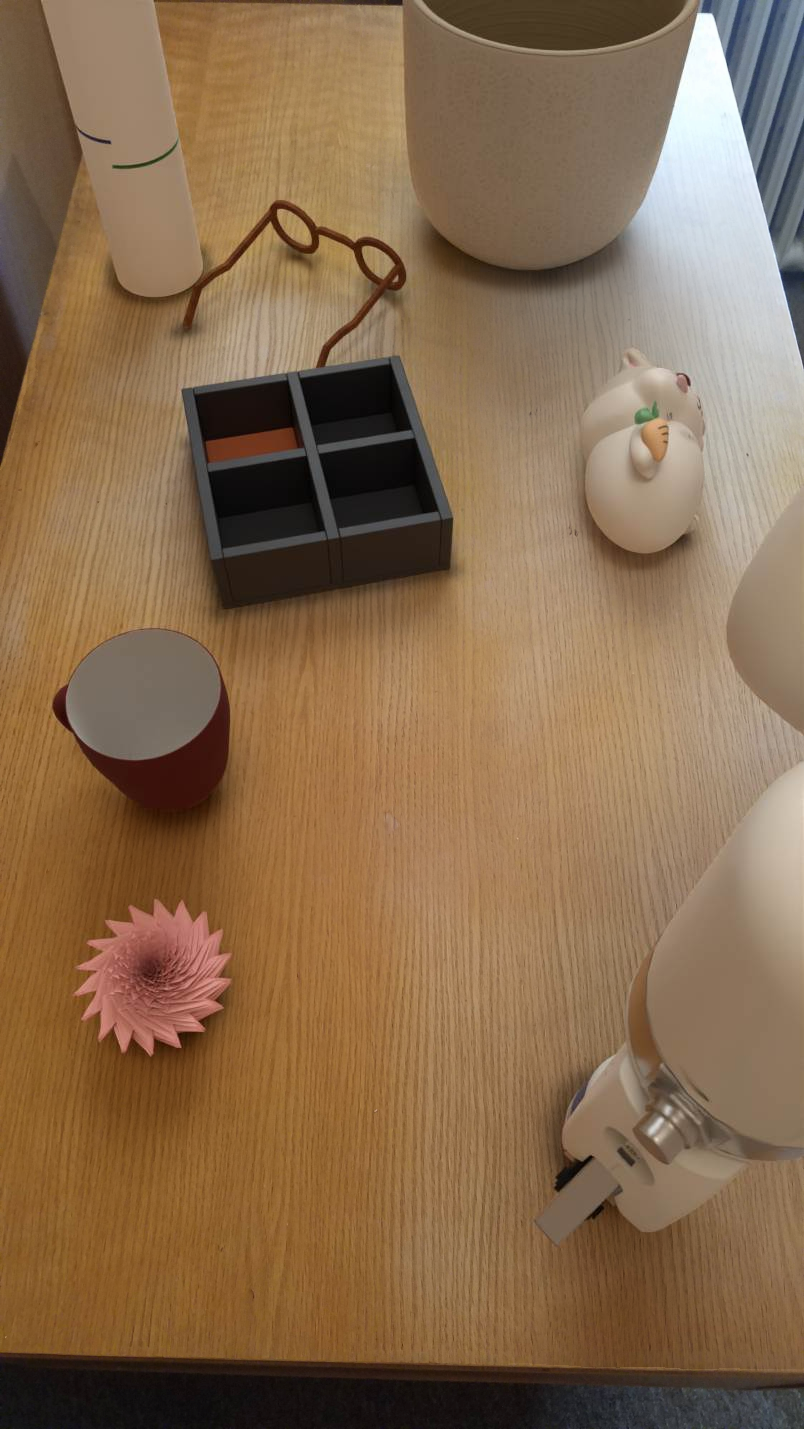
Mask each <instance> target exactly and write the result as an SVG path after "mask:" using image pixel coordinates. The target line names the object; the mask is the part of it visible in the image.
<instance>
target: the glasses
mask: <svg viewBox="0 0 804 1429" xmlns="http://www.w3.org/2000/svg"><path fill="white" fill-rule="evenodd" d="M278 210H285V211H288V212H290V213H292V214H293V215H295V216H296V217H298V218H299V219H300V220H301V221H302V222H303V223H304V225H305V226H306V227H307V229H308V231H309V234H310V239H311V243H310V244H309V245H306V244H303V243H300V242H298V241H296V240H294V239H293V238H292V237H291V236H290V235H288V233H287V232H286V231H285V230H284V229H283V227H282V226H281V223H280V220H279V217H278ZM269 224H271V225H272V227H273V230H274V231H275V233H276V234H277V235H278V237H279V238H280V239H281V240H282V241H283V242H284V243H285V244H286V245H287V246H288V247H290V248H292V249H293V250H295V251H297V252H299V253H302V254H304V255H305V254H306V255H312V254H314V253H315V252H316V251H317V250H318V248H319V246H320V236H322V237H325V238H328V239H330V240H332V241H335V242H337V243H339V244H342V245H344V246H346V247H347V248H349V249H350V250H351V251H353V254H354V257H355V260H356V264H357V265H358V267H359V270H360V271H361V272H362V274H363V275H364V276H365V278H367V279H368V280H369V281H370V282H371V283H373V284H374V285H376V286H377V287H376V288H375V290H374V291H373V292H372V294H370V296H369V297H368V299H367V300H366V301H365V302H364V304H363V305H362V306H361V308H360V309H359V310H358V311H357V313H356V314H355V315H354V317H353V318H352V319H351V320H350V321H348V322H347V323H345V324H344V325H343V326H341V327H340V328H339V329H337V331H335V332H334V333H333V334H332V336H331V337H330V338H329V339H328V340H327V341H326V342H325V343H324V344H323V345H322V347H321V351H320V354H319V356H318V359H317V361H316V365H315V368H320V367H326V365H327V362H328V358H329V355H330V352H331V350H332V349H333V348H334V347H335V346H336V345H337V344H338V343H339V342H340V341H341V340H342V339H344V337H346V336H347V335H348V334H349V333H352V331H354V330H356V329H357V328H358V326H359V325H360V324H361V323H362V321H363V320H364V319H365V318H366V316H368V314H369V312H370V311H371V310H372V309H373V307H375V304H376V303H377V302H378V300H380V299H381V297H382V295H383V294H384V293H385V292H386V291H391V292H397V291H400V290H401V289H402V288H403V287H404V286H405V284H406V282H407V269H406V266H405V265H404V264H405V263H404V262H403V260H402V258H401V257H400V256H399V254H398V252H396V251H395V250H394V248H392V247H391V246H390V245H389V244H387V243H386V242H384V241H382V240H381V239H378V238H375V237H373V236H362V237H360V238H357V239H356V240H355V241H354V240H352V239H351V238H350V237H348V236H346V234H343V233H340V232H338V231H336V230H333V229H331V228H329V227H326V226H322V225H321V226H317V225H316V223H315V221H314V220H313V219H312V218H311V216H309V215H308V214H307V213H306V212H305V211H304V210H303V209H302V208H301V207H299V206H298V205H296V204H295V203H293V202H290V201H288V200H284V199H276V200H274V202H272V204H271V205H270V206H269V209H268V210H267V212H265V214H264V215H263V216H262V217H261V218H260V220H259V221H258V222H257V223H256V224H255V225H254V227H252V229H251V230H250V231H249V233H248V234H247V235H246V236H245V237H244V238H243V240H242V241H241V242H240V243H239V245H238V246H237V247H235V249H234V250H233V252H232V253H231V254H230V255H229V256H228V257H227V259H226V260H224V262H223V263H221V264H219V265H217V266H215V267H214V268H212V269H211V270H209V271H208V272H207V273H206V274H204V275H203V276H202V277H201V278H199V279H198V280H197V281H196V282H195V284H193V285H192V286H193V287H192V290H191V294H190V296H189V301H188V304H187V307H186V310H185V314H184V317H183V321H182V324H181V326H183V327H185V328H186V329H187V328H188V329H191V328H192V324H193V322H194V318H195V315H196V311H197V308H198V304H199V302H200V298H201V295H202V291H203V289H204V288H205V287H207V286H208V285H209V284H210V283H212V281H214V280H215V279H216V278H217V277H220V276H221V275H223V274H225V273H227V272H229V271H230V270H231V269H232V268H233V267H234V265H235V264H236V263H237V262H238V261H239V260H240V259H241V257H242V256H243V254H245V252H246V251H247V250H248V249H249V248H250V246H251V245H252V244H253V243H254V242H255V241H256V239H257V238H258V237H259V236H260V235H261V233H262V232H263V231H264V230H265V229H266V227H268V225H269ZM364 247H372V248H375V249H377V250H379V251H381V252H383V253H384V254H385V255H386V256H388V258H389V259H390V260H391V261H392V263H393V264H394V265H393V267H392V268H391V269H390V270H389V272H388V273H387V275H386V276H385V277H384V278H381V277H380V276H378V275H377V274H375V273H374V272H373V270H371V269H370V268H369V266H368V265H367V262H366V261H365V257H364V255H363V248H364ZM396 278H397V280H396V281H394V280H395V279H396Z"/></svg>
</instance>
